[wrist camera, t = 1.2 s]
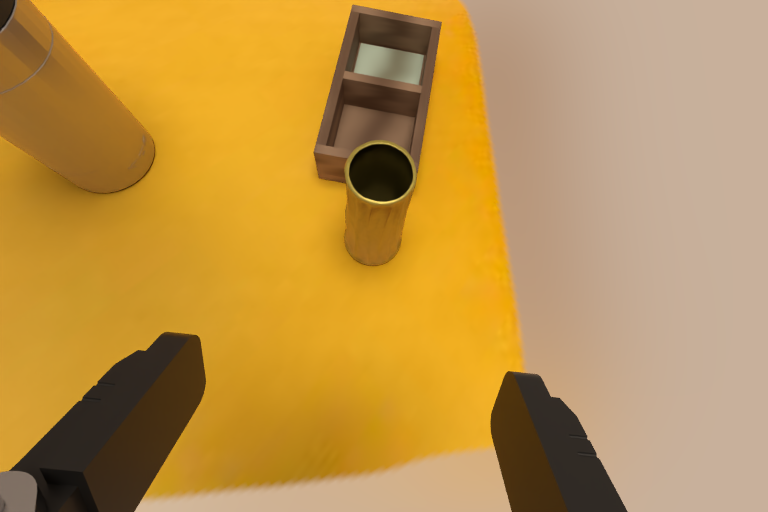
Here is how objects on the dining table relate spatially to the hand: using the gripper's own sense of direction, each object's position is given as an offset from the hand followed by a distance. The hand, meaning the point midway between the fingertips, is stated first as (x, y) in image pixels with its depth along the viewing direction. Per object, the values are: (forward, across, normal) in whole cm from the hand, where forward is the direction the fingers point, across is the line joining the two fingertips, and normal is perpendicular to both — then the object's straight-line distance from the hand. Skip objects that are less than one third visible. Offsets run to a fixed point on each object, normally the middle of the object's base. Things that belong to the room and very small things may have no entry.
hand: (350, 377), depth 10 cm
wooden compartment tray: (+40, +1, -3) cm, 40 cm away
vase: (+29, 0, +9) cm, 30 cm away
